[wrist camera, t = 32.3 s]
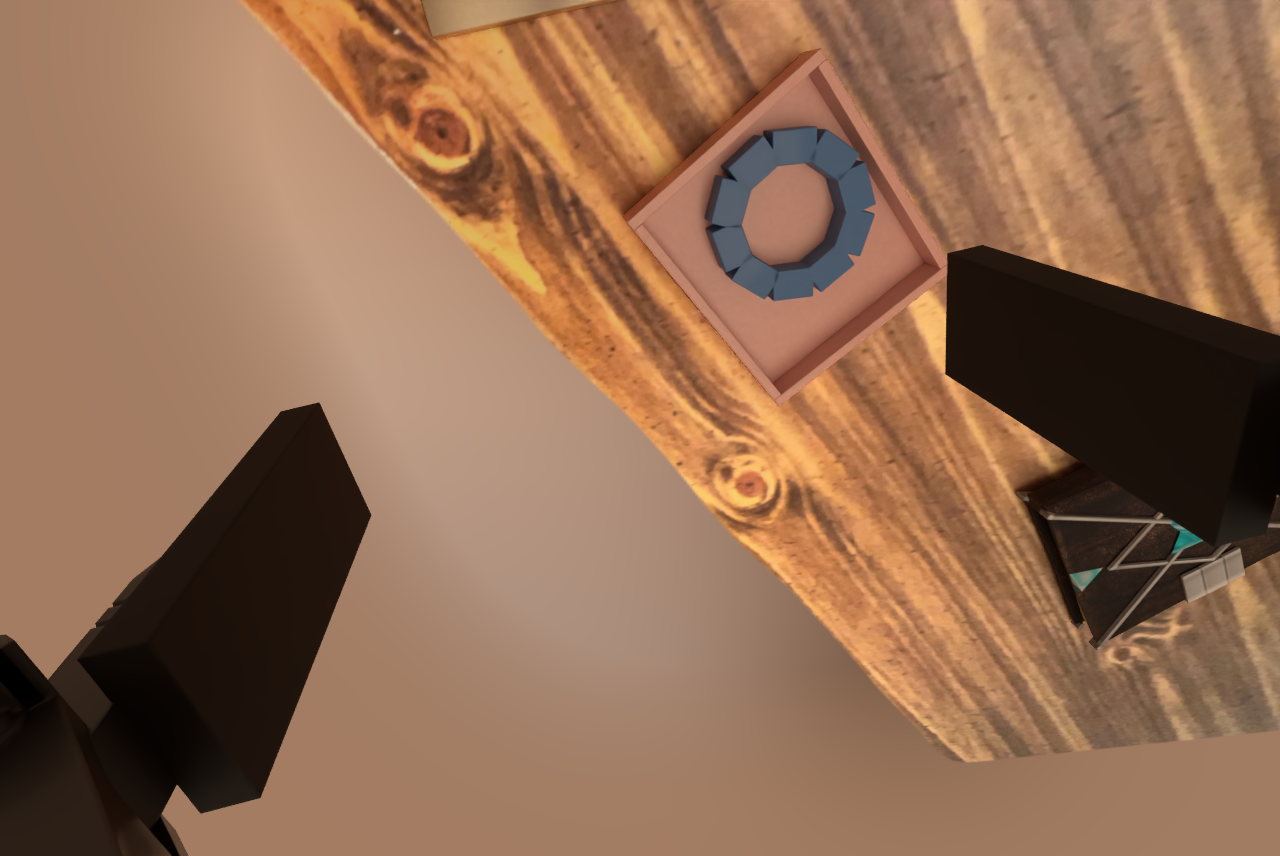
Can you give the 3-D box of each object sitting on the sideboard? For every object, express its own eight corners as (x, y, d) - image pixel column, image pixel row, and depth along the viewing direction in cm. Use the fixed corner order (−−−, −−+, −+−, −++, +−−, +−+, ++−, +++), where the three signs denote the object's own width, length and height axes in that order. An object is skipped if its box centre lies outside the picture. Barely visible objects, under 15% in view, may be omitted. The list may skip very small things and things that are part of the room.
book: (1286, 342, 49) (1361, 365, 44) (1305, 502, 56) (1371, 537, 51) (1013, 490, 51) (1057, 526, 47) (1064, 625, 59) (1107, 668, 54)
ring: (688, 278, 41) (694, 285, 39) (732, 106, 37) (740, 106, 35) (829, 306, 42) (840, 314, 41) (884, 146, 39) (899, 148, 37)
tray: (622, 216, 39) (626, 222, 37) (804, 51, 36) (821, 47, 34) (767, 391, 45) (779, 406, 43) (932, 261, 43) (953, 270, 40)
